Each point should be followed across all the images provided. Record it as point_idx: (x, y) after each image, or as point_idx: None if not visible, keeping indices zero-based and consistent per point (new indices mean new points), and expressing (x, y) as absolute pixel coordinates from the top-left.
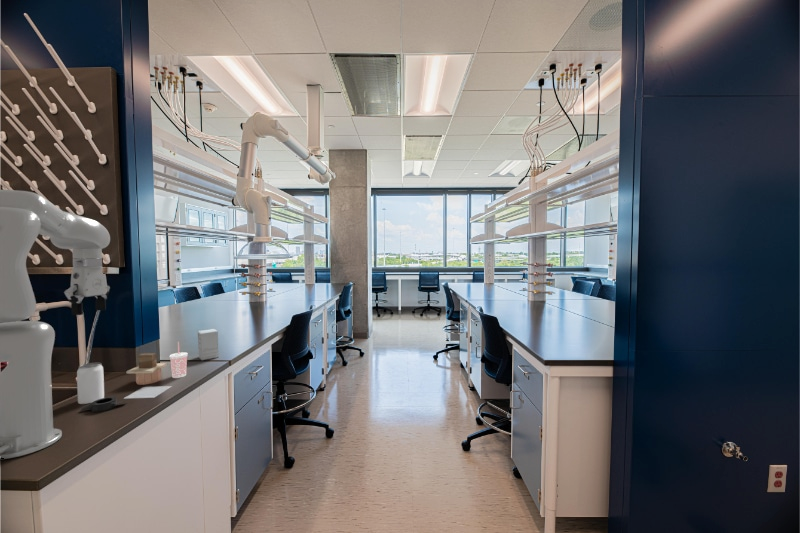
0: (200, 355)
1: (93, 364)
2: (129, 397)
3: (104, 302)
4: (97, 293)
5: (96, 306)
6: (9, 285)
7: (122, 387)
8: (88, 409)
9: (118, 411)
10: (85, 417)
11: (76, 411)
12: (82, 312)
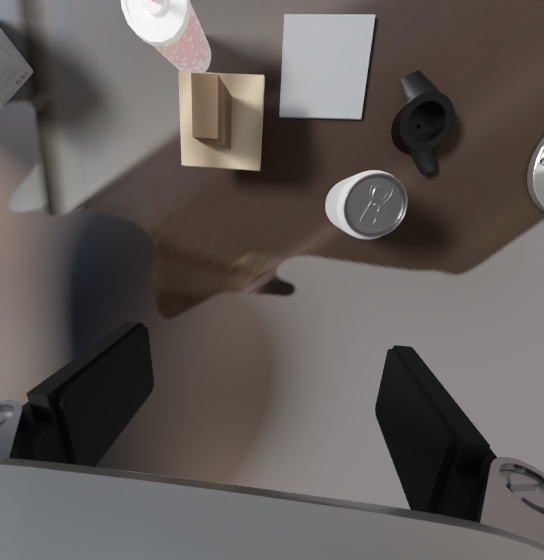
0: (11, 75)
1: (354, 209)
2: (357, 103)
3: (86, 367)
4: (193, 532)
5: (134, 406)
6: None
7: (266, 186)
8: (432, 154)
9: (445, 73)
10: (459, 141)
11: (411, 193)
12: (406, 354)
